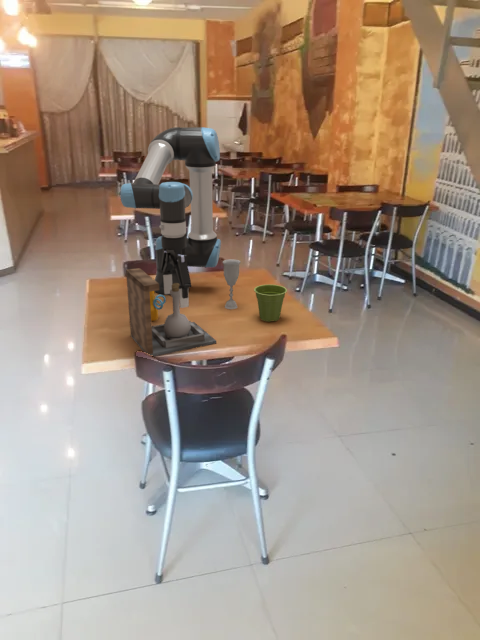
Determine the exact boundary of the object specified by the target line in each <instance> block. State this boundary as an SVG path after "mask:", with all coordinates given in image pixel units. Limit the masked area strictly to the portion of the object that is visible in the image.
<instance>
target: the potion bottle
mask: <svg viewBox="0 0 480 640" xmlns="http://www.w3.org/2000/svg"><path fill="white" fill-rule="evenodd" d="M179 285H180V284H179V283H174V284H173V285H172V289H171V290H170V296H171V298H172V313H171V314H168V315H167V317H165V321H164V323H163V324H164V332H165V334H166V335H167V338H169V339H170V340H173V339H178V338H183V337H188V335H187V334H188V333H190V329H191V326H190V322H189V321H190V320H189V319H188V317H187V316H186V315H185V314H183V313H181V312H180V311H181V310H180V309H181V308H180V299H179Z"/></svg>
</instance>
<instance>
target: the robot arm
mask: <svg viewBox="0 0 480 640" xmlns="http://www.w3.org/2000/svg"><path fill="white" fill-rule="evenodd" d="M220 154H221V151H220V142H219V137H218V134H217V132H216V130H215V129H214V128H211V127H203V126H201V127H200V126H199V127H192V126H191V127H181V126H179V127H178V126H175V127H170V128H167V129H165V130H163V131H162V132H160V133H158V134H157V135H155V137H154V138H152V140H151V141H150V143H149V145H148V147H147V155H146V157H145V158H144V161H143V163H142V164H141V167H140V169H139V170H138V173H137V175H136V176H135V179H134V180H133V182H132V183H131V182H128V183H124V184H122V185H121V188H120V196H119V197H120V202H121V204H122V206H123V207H125V208H129V209H150V210H151V209H153V210H154V209H155V210H156V209H157V210H159V214H160V215H159V216H160V217H159V218H160V225H159V226H158V227H159V229H160V234H161V236H158V237H157V238H156V239H155V248H154V250H155V261H156V262H155V263H156V273H155V278H154V280H155V281H156V282H158V283H159V290H157V291H155V294H158V295H164V296H165V295H167V296H169V295H170V290H171V289H172V285H173V284H174V283H179V284H180V285H179V306H180V309H183V308H189V306H190V305H189V303H190V302H189V300H190V299H189V290H190V288H192V281H191V276H190V272H189V267H190V268H192V267H194V268H195V267H196V268H215V267H217V265H218V262H219V259H220V254H221V246H222V241H221V239H219V238H218V235H217V233H216V232H215V231H214V221H213V220H214V217H213V216H214V213H213V209H214V208H213V169H214V168H216V166H217V165H216V163H217V162H219V161H220V158H221V155H220ZM172 161H184V165H185V167H186V168H187V170H188V171H189V172H188V173H189V185H188V184H185V183H182V182H179V181H166V182H165V181H164V182H161V179H162V177H163V175H164V173H165V170H166V168H167V166H168V165H169V164H171V163H172ZM160 182H161V183H160ZM189 206H190V219H191V221H190V223H191V225H190V226H191V231H190V232H189V233H188V235H187V236H186V234H187V221H186V208H187V207H189ZM170 296H171V295H170Z"/></svg>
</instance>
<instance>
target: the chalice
mask: <svg viewBox="0 0 480 640" xmlns="http://www.w3.org/2000/svg"><path fill="white" fill-rule="evenodd" d="M222 264H223V277H224V279H225V281H226V284H227V285H228V286H229V294H228V295H229V300H227V301H226V303H225V305H224V308H225V309H227V310H235V309H238V305H237V302H236V301H235V300H234V299H233V296H234V294H233V293H234V292H233V291H234V289H233V286H235V285H236V283H237V281H238V280H239V276H240V264H241V260H239V259H233V258H232V259H224V260H223V261H222Z"/></svg>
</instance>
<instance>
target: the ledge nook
mask: <svg viewBox="0 0 480 640" xmlns="http://www.w3.org/2000/svg"><path fill="white" fill-rule="evenodd" d="M125 270H126V271H125V275H126V286H127V287H126V288H127V291H126V292H127V300H128V301H127V302H128V303H127V304H128V313H129V314H128V315H129V318H128V319H129V328H130V329H129V331H130V337H131V338H132V339H133V341H134V342H135V343H136V344H137V346H138V347H139V348H140V349H141V350H142V352H143V351H144V352H146V353H148V354H150V355H153V356H154V357H157V356H164V355H168V354H172V353H177V352H182V351H187V350H191V349H197V348H200V346H202V347H205V346H206V347H207V346H210V345H211V346H212V345H215V344H217V340H216V339H215V338H214V337H213V336H212V335H210V334H209V333H208V332H207V331H205V330H204V329H203V328H202V327H201V326H200V325H199V324H197V323H196V322H195V321H191V320H189V322H190V326H191V329H190V333H188V334H187V335H188V337H183V338H178V339H173V340H170V339H169V338H167V335H166V334H165V332H164V324H165V323H162V324H156V325H152V321H151V309H150V291H157V290H159V283H158V282H156V281H155V278H154V279H153V277H151V276H150V275H149V274H148V273H147V272H145V271H144V270H143V269H141V267H139V268H129V269H125ZM196 347H197V348H196ZM144 352H143V353H144Z"/></svg>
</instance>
